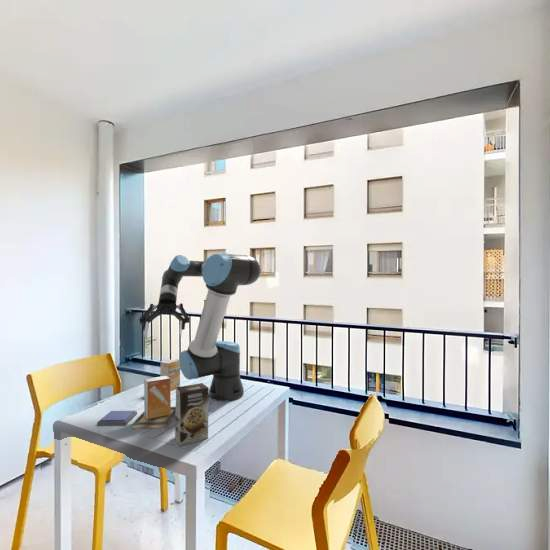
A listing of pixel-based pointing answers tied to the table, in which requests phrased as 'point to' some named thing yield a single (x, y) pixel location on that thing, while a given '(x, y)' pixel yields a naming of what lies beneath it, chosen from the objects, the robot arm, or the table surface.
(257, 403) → the table surface
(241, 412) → the table surface
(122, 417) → the ink pad
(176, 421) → the coffee box
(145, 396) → the small box
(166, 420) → the board
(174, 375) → the supplement box
